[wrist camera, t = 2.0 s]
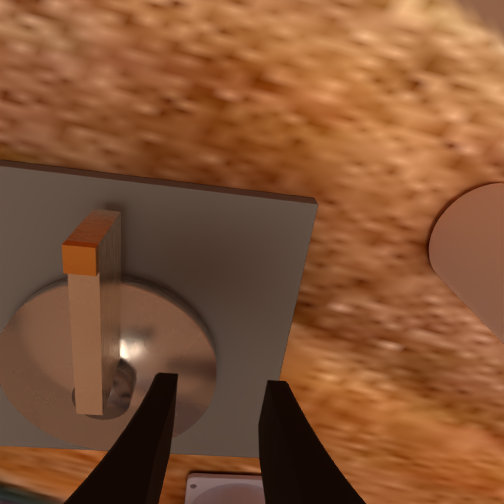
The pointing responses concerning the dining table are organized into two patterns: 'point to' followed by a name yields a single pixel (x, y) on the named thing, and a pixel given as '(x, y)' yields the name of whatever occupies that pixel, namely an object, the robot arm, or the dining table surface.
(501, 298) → the can
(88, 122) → the dining table surface
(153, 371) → the dial
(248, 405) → the dial board
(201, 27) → the dining table surface
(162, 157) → the dining table surface
